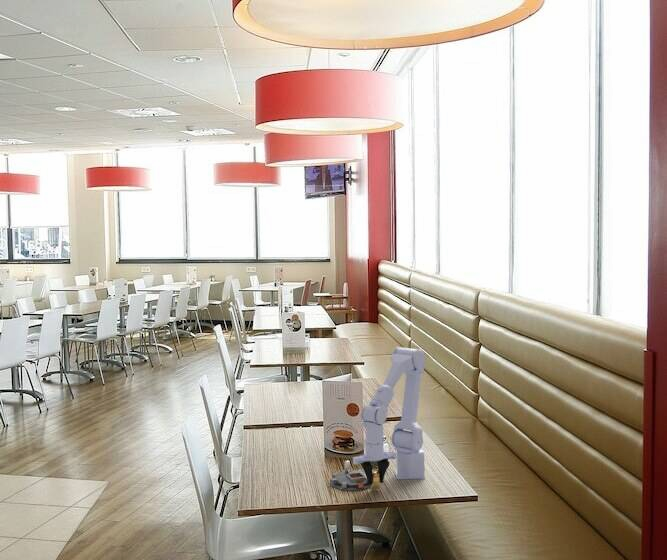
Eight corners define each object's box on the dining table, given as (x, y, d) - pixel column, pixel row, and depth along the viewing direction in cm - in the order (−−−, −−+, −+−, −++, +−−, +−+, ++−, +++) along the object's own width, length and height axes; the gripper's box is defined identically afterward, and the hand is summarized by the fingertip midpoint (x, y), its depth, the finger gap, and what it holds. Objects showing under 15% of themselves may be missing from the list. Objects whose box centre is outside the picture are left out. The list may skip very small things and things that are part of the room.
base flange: (373, 474, 251) (373, 472, 251) (376, 490, 236) (376, 488, 236) (330, 475, 251) (330, 473, 251) (330, 491, 236) (330, 489, 236)
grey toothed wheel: (372, 472, 250) (372, 457, 250) (375, 487, 236) (374, 471, 236) (331, 473, 250) (331, 458, 250) (331, 488, 236) (331, 472, 236)
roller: (380, 485, 237) (379, 470, 237) (380, 489, 234) (380, 474, 233) (369, 485, 237) (369, 470, 237) (370, 489, 234) (370, 474, 233)
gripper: (389, 435, 240) (390, 475, 242) (349, 441, 236) (349, 482, 237) (398, 441, 234) (399, 482, 235) (357, 447, 229) (358, 489, 230)
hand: (375, 483), depth 235 cm, fingers closed on roller, 3 cm apart
